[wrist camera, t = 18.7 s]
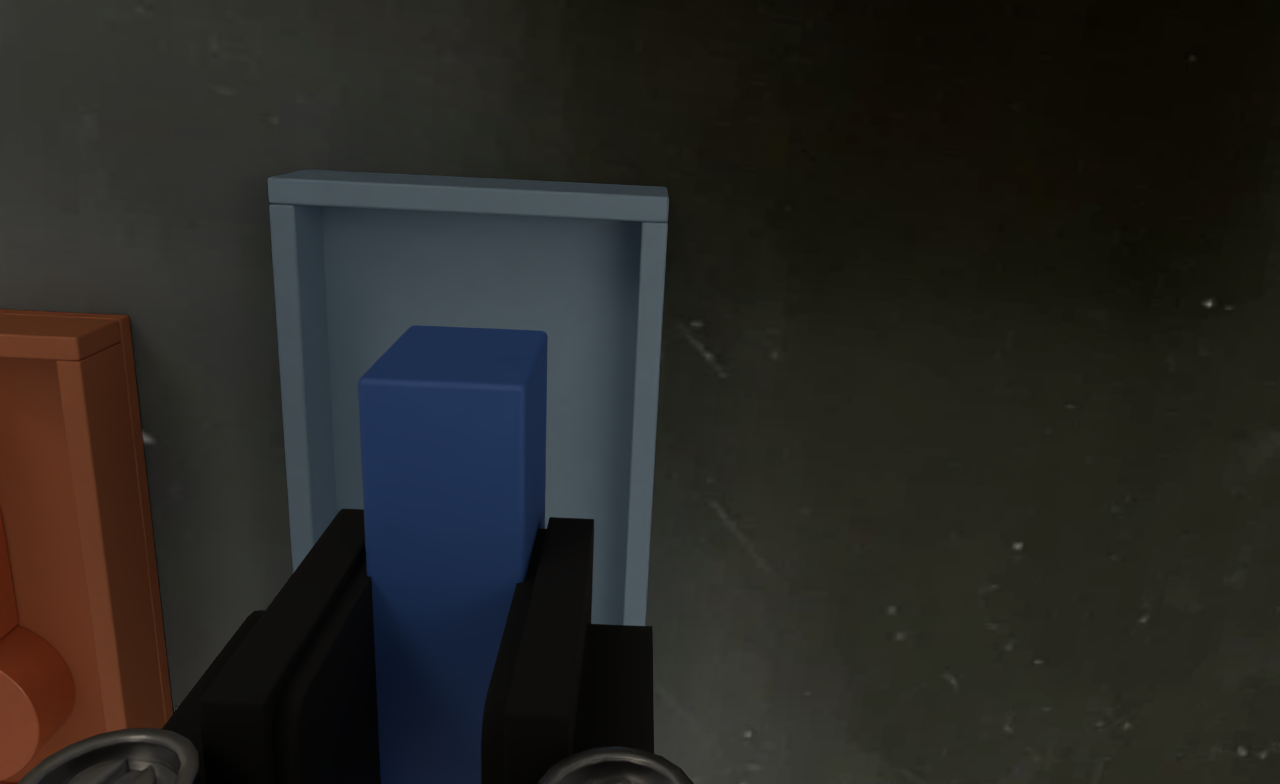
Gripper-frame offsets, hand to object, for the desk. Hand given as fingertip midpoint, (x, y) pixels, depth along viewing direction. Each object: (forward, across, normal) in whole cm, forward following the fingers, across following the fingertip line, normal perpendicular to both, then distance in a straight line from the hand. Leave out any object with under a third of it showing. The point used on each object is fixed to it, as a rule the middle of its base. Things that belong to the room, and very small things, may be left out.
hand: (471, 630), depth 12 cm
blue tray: (+15, +2, +4) cm, 15 cm away
